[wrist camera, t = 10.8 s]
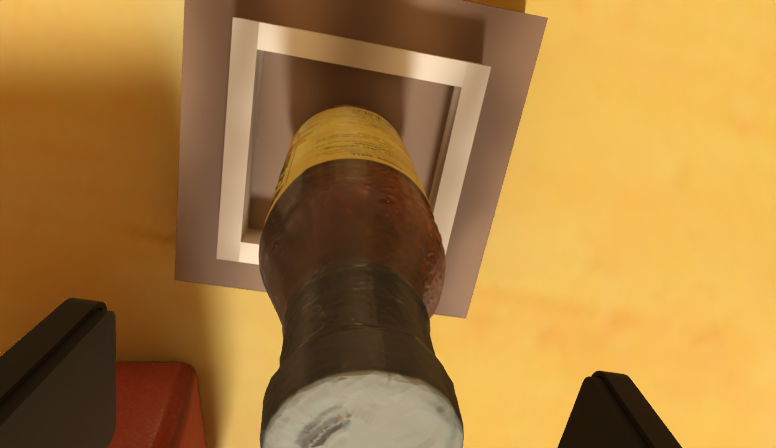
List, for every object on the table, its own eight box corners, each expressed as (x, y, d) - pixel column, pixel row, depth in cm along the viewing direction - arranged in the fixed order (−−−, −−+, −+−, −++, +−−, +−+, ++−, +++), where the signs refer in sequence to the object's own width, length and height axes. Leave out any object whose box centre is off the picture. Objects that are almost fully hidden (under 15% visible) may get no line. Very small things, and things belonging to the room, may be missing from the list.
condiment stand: (524, 19, 29) (562, 16, 24) (454, 288, 36) (472, 336, 30) (210, -45, 27) (172, -64, 22) (195, 252, 34) (162, 296, 28)
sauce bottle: (274, 119, 27) (110, 345, 8) (387, 85, 26) (477, 240, 8) (314, 228, 29) (258, 585, 11) (418, 197, 29) (540, 510, 11)
